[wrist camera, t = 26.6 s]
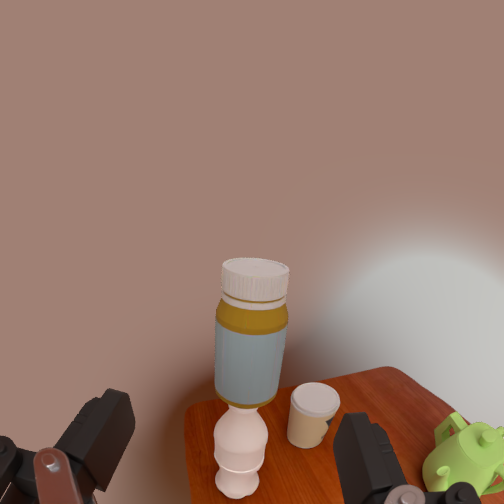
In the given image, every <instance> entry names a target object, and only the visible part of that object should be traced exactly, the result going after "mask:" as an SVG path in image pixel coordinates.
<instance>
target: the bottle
mask: <svg viewBox="0 0 504 504" xmlns="http://www.w3.org/2000/svg"><path fill="white" fill-rule="evenodd" d="M289 273H290V272H289V268H288V267H287V266H286V265H284V264H282V263H280V262H276V261H273V260H267V259H260V258H237V259H231V260H227V261H225V262H224V263H223V266H222V282H221V286H222V296H221V297H222V298H221V300H220V303H219V305H218V307H217V309H216V326H215V390H216V393H217V395H218V396H219V398H220V399H221V400H223V401H224V402H226V403H227V404H229V405H231V406H233V407H236V408H240V409H255V408H259V407H261V406H264V405H266V404H268V403H269V402H271V401H272V400H273V399H274V397H275V395H276V393H277V389H278V383H279V377H280V370H281V365H282V358H283V352H284V345H285V339H286V331H287V324H288V312H287V307H286V303H285V301H286V296H287V294H286V293H287V289H288V281H289Z"/></svg>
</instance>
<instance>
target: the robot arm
mask: <svg viewBox="0 0 504 504" xmlns="http://www.w3.org/2000/svg"><path fill="white" fill-rule="evenodd" d="M134 429H135V417H134V414H133V410H132V406H131V402H130V398H129V395H128V394H127V393H125V392H121V391H118V390H114V389H110V388H109V389H107V390H106V391H105V393H104V394H103V396H102V397H101V398H97V397H95V398H93V399H92V400H90V401H88V402H87V403H85V405H84V406H83V407H82V409H81V410H80V412H79V414H77V416H76V417H75V419H74V421H72V422H71V424H70V425H69V427H68V428H67V430H66V431H65V432H64V434H63V435H62V436H61V438H60V439H59V440H58V442H57V443H56V445H55V446H54V447H53V448H44V449H41V450H40V451H39V452H32V451H28V450H24V449H21V448H17V447H16V445H15V444H14V443H13V441H12V440H11V439H10V438H8V437H6V436H0V499H1V497H2V496H3V494H4V492H5V490H6V489H7V487H8V485H9V484H10V482H11V484H10V486H9V488H8V489H7V491H6V493H5V495H4V496H3V498H2V500H1V502H0V504H97V501H96V499H95V496H94V494H93V492H94V490H95V489H98V490H100V491H103V492H105V491H106V489H107V486H108V485H109V482H110V480H111V478H112V476H113V474H114V472H115V470H116V467H117V466H118V463H119V461H120V459H121V457H122V455H123V453H124V451H125V449H126V446H127V445H128V443H129V441H130V439H131V437H132V435H133V432H134ZM333 451H334V456H335V460H336V465H337V469H338V474H339V479H340V483H341V488H342V493H343V498H344V503H345V504H481V501H480V499H479V497H478V494H477V492H476V490H475V488H474V487H473V486H472V485H471V484H470V483H467V482H456V483H454V484H452V485H451V486H450V487H449V488H448V489H447V490H446V491H437V492H422V491H421V489H419V488H418V487H416V486H413V485H409V484H408V483H407V481H406V479H405V477H404V474H403V472H402V469H401V467H400V464H399V462H398V459H397V457H396V454H395V452H393V447H392V445H391V444H390V440H389V438H388V436H387V433H386V431H385V430H383V429H382V428H381V427H380V426H379V425H378V424H377V423H375V424H371V423H370V421H369V418H368V416H367V414H366V413H365V412H357V413H346V414H344V416H343V419H342V421H341V423H340V426H339V428H338V431H337V433H336V435H335V438H334V443H333Z"/></svg>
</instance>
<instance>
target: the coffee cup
mask: <svg viewBox="0 0 504 504" xmlns="http://www.w3.org/2000/svg"><path fill="white" fill-rule="evenodd" d="M339 405H340V399H339V395H338V393H337V392H336V391H335V390H334V389H333V388H332V387H330V386H328V385H325V384H322V383H305V384H302V385H300V386H298V387H297V388H296V389H295V390H294V391H293V393H292V395H291V405H290V413H289V420H288V428H287V438H288V440H289V441H290V442H291V443H292V444H293V445H295V446H297V447H300V448H312V447H315V446H317V445H318V444H319V443H320V442H321V441H322V439H323V437H324V435H325V434H326V432H327V430H328V428H329V426H330V424H331V421H332V419H333V417H334V415H335V413H336V411H337V409H338V408H339Z"/></svg>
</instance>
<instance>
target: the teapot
mask: <svg viewBox="0 0 504 504" xmlns="http://www.w3.org/2000/svg"><path fill="white" fill-rule="evenodd" d="M451 428H453V430H454V431H455V434H454V435H452V436H451V437H450V434H449V430H450V429H451ZM434 434H435V443H436V448H435V449H434V450H433V451H432V452H431V453H430V454H429V455H428V457H427V458H426V459H425V461H424V463H423V467H422V475H423V480H424V483H425V486H426V488H427V490H428V492H437V491H446V490H447V489H448V488H449V487H450V486H451V485H452V484H454V483H456V482H467V483H470V484H471V485H472V486H473V487H474V488H475V490H476V492H477V494H478V497H480V496H481V495H485V494H492V493H497V492H500V491H503V490H504V466H503V464H504V439H503V437H504V428H503V427H502V426H501V427H498V428H497V429H496V430H495V429H494V428H492V427H491V426H489V425H488V424H486V423H483V422H476V423H473V424H471V425H469V426H468V425H467V424H466V423H465V421H464V420H463V419H462V417H461V416H460V414H459V413H458V412H457V411H456V412H454V413H452V414H450V415H449V416H448V417H447V418H446V419H445V420H444V421H443V422H442V423H441V424H440V425H439V426H438V427H437V428H436V429H434ZM498 475H500V476H501V478H502V479H503V481H502V482H501V483H499V484H497V485H495V486H492V487H490V486H491V484H492V483H493V482H494V480H495V479H496V478H497V476H498Z"/></svg>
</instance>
